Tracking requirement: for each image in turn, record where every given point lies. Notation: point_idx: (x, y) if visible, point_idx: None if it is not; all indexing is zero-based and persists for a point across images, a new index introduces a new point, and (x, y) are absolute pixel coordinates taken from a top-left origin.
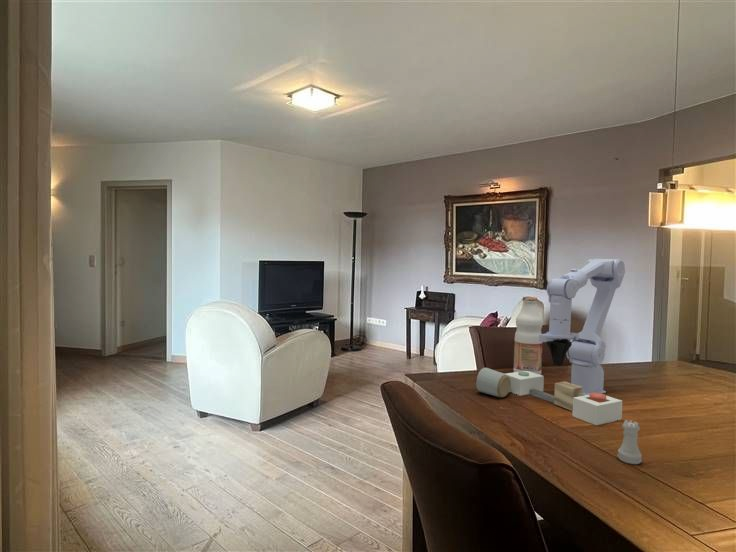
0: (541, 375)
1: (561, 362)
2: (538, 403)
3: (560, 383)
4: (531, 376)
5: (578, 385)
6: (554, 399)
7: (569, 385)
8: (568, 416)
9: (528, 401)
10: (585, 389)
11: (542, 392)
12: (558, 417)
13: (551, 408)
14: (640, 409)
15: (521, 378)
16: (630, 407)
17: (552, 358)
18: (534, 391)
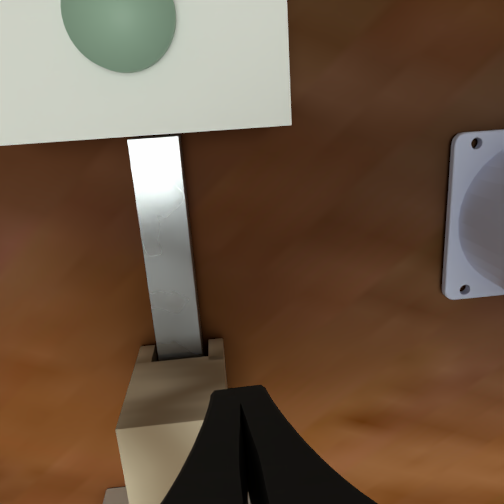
0: (285, 99)
1: (247, 489)
2: (64, 299)
3: (150, 449)
4: (162, 95)
5: (483, 251)
6: (136, 362)
7: None
8: (86, 485)
9: (24, 251)
10: (491, 278)
11: (168, 226)
12: (24, 483)
13: (82, 382)
14: (500, 498)
15: (13, 120)
16: (487, 470)
17: (201, 428)
18: (133, 182)
